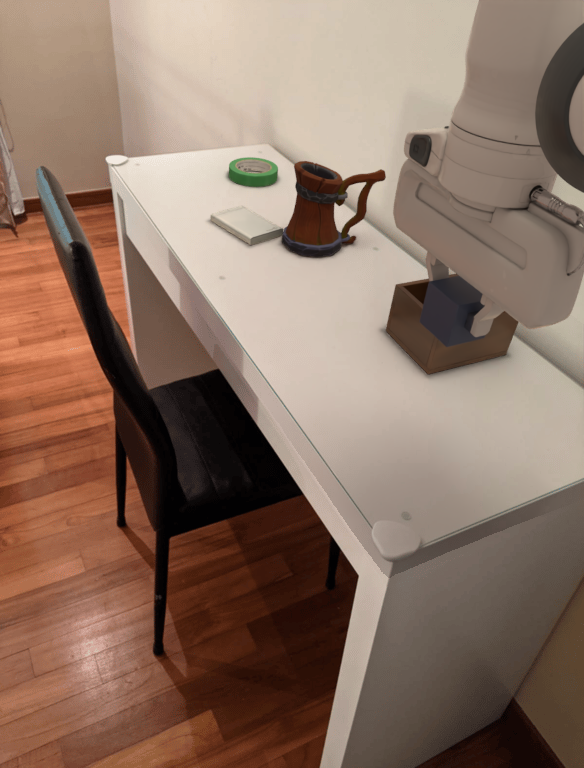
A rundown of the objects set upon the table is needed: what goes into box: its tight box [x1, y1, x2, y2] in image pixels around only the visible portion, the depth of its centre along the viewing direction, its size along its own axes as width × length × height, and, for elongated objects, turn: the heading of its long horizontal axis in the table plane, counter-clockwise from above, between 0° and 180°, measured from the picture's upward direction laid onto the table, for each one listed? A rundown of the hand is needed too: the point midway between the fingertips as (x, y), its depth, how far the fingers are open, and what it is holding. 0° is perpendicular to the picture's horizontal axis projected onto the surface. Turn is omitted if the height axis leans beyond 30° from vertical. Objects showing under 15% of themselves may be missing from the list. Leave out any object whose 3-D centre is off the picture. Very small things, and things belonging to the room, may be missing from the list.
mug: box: [281, 160, 387, 258], centre depth 112 cm, size 18×12×15 cm, turn 101°
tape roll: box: [228, 156, 279, 188], centre depth 138 cm, size 11×11×3 cm
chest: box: [385, 273, 519, 375], centre depth 92 cm, size 15×12×8 cm
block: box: [419, 276, 485, 347], centre depth 56 cm, size 4×4×4 cm
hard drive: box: [209, 205, 284, 246], centre depth 118 cm, size 2×8×12 cm
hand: (455, 315), depth 56 cm, fingers closed on block, 4 cm apart
